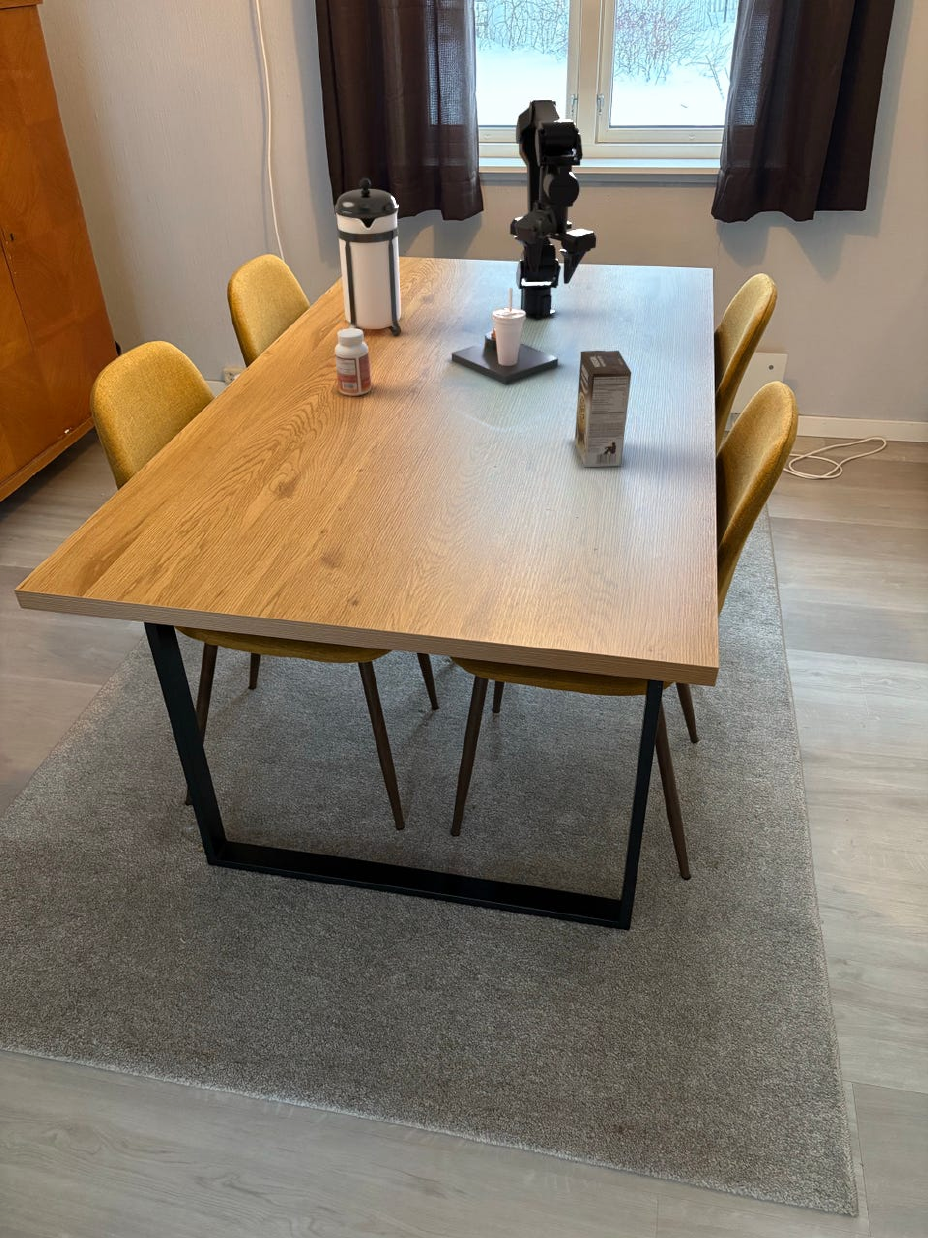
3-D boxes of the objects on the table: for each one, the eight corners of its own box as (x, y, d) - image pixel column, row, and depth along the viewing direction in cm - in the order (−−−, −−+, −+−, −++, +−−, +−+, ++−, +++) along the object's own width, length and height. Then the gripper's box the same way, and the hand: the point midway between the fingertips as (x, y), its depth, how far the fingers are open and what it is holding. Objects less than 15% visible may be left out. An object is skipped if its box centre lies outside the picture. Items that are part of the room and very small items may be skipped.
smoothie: (530, 360, 184) (533, 287, 175) (513, 370, 180) (515, 297, 171) (502, 353, 187) (504, 282, 178) (485, 363, 182) (485, 291, 174)
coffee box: (572, 442, 159) (579, 350, 149) (610, 441, 159) (619, 348, 150) (583, 468, 152) (590, 372, 142) (622, 466, 152) (632, 371, 142)
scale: (450, 360, 188) (449, 343, 186) (503, 343, 196) (503, 326, 194) (505, 385, 178) (506, 367, 176) (559, 365, 186) (560, 348, 184)
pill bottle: (364, 381, 180) (360, 324, 173) (376, 392, 176) (372, 334, 169) (333, 387, 178) (328, 329, 171) (345, 399, 174) (340, 340, 167)
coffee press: (426, 325, 204) (421, 176, 186) (371, 345, 195) (361, 190, 177) (372, 307, 214) (363, 163, 196) (318, 325, 205) (303, 176, 187)
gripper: (490, 193, 181) (489, 275, 190) (559, 210, 169) (554, 297, 179) (531, 184, 187) (528, 265, 196) (601, 200, 175) (594, 285, 184)
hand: (550, 278), depth 189 cm, fingers open, 9 cm apart
